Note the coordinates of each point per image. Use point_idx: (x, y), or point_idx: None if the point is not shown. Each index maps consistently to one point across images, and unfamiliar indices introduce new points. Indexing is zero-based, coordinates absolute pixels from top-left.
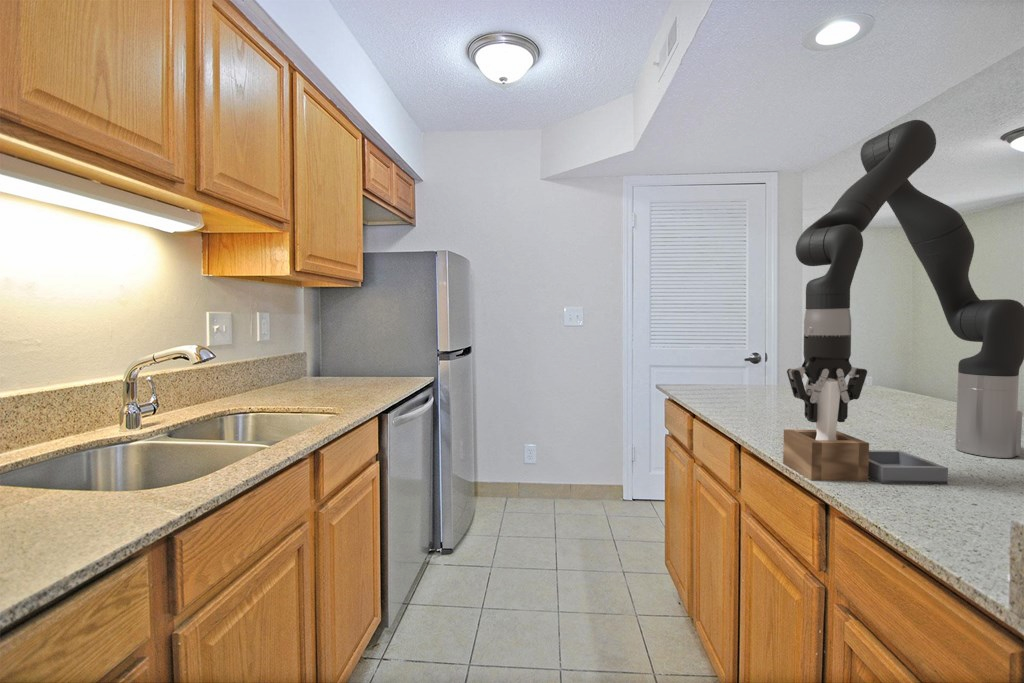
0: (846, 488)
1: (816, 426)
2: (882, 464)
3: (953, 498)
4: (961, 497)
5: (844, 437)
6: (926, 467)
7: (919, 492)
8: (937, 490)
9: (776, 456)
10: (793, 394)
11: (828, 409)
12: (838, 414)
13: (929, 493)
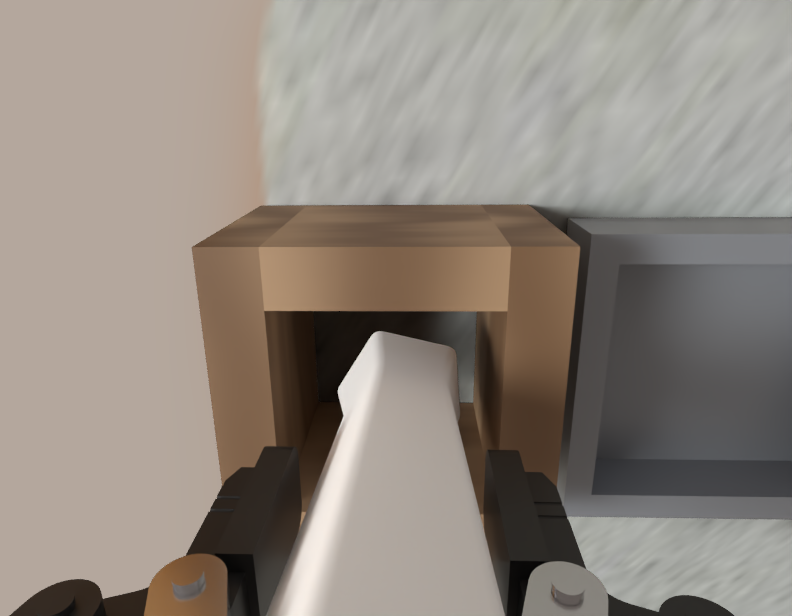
0: None
1: (331, 447)
2: (746, 264)
3: (678, 587)
4: (716, 580)
5: (498, 447)
6: (763, 514)
7: (611, 542)
8: (699, 525)
9: (280, 63)
10: (14, 613)
11: None
12: (490, 530)
13: (639, 550)
